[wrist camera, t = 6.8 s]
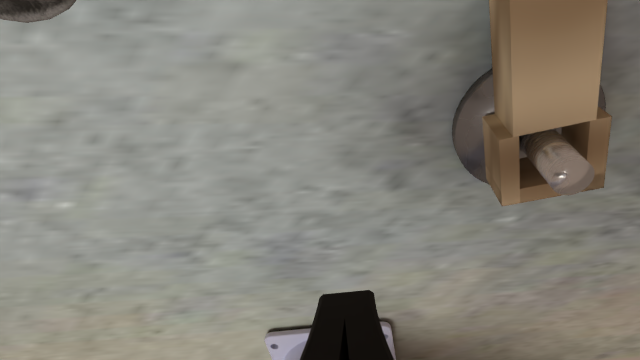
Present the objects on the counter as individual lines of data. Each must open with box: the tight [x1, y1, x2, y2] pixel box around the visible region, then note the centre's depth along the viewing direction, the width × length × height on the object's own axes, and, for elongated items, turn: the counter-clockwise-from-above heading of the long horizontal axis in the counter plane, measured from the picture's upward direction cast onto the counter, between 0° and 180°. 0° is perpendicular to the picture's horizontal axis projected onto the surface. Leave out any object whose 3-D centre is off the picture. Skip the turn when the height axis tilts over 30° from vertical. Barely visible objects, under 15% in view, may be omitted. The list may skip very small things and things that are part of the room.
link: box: [482, 0, 612, 206], centre depth 14 cm, size 11×4×2 cm, turn 15°
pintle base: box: [452, 69, 605, 195], centre depth 16 cm, size 6×6×4 cm
